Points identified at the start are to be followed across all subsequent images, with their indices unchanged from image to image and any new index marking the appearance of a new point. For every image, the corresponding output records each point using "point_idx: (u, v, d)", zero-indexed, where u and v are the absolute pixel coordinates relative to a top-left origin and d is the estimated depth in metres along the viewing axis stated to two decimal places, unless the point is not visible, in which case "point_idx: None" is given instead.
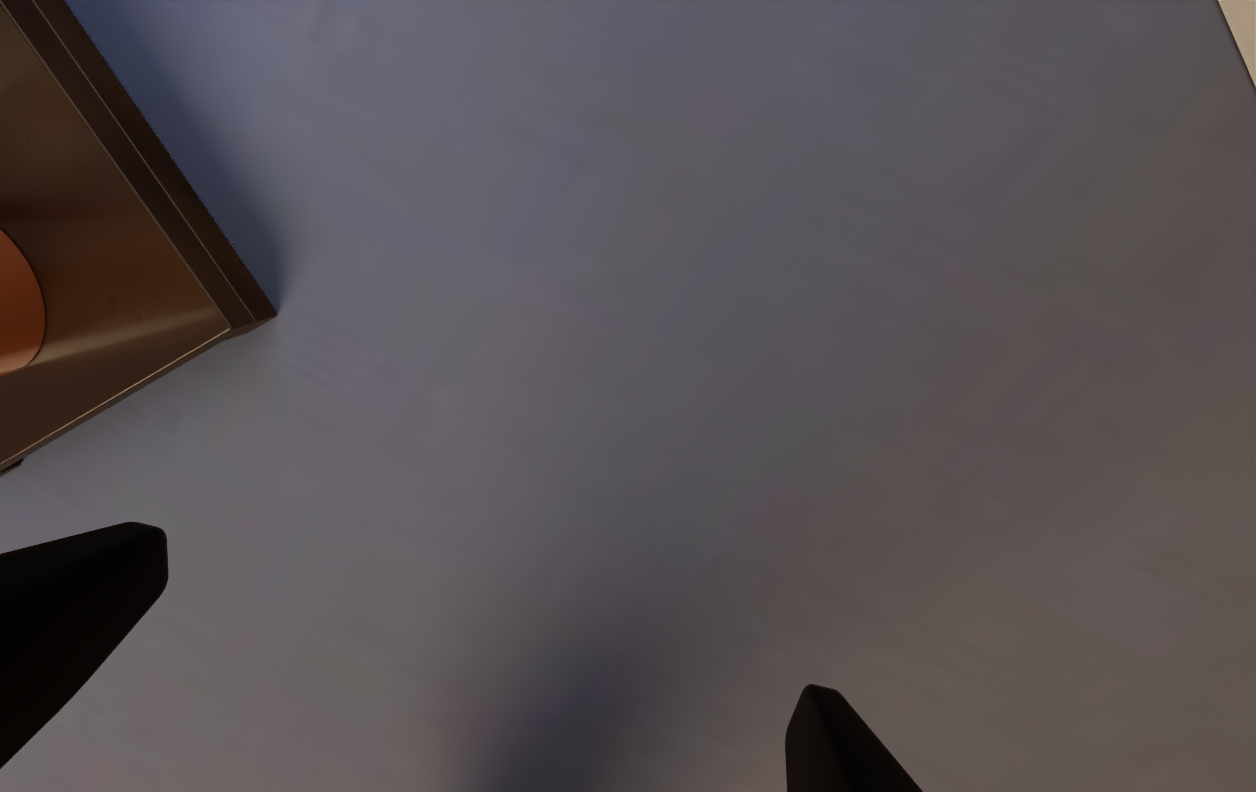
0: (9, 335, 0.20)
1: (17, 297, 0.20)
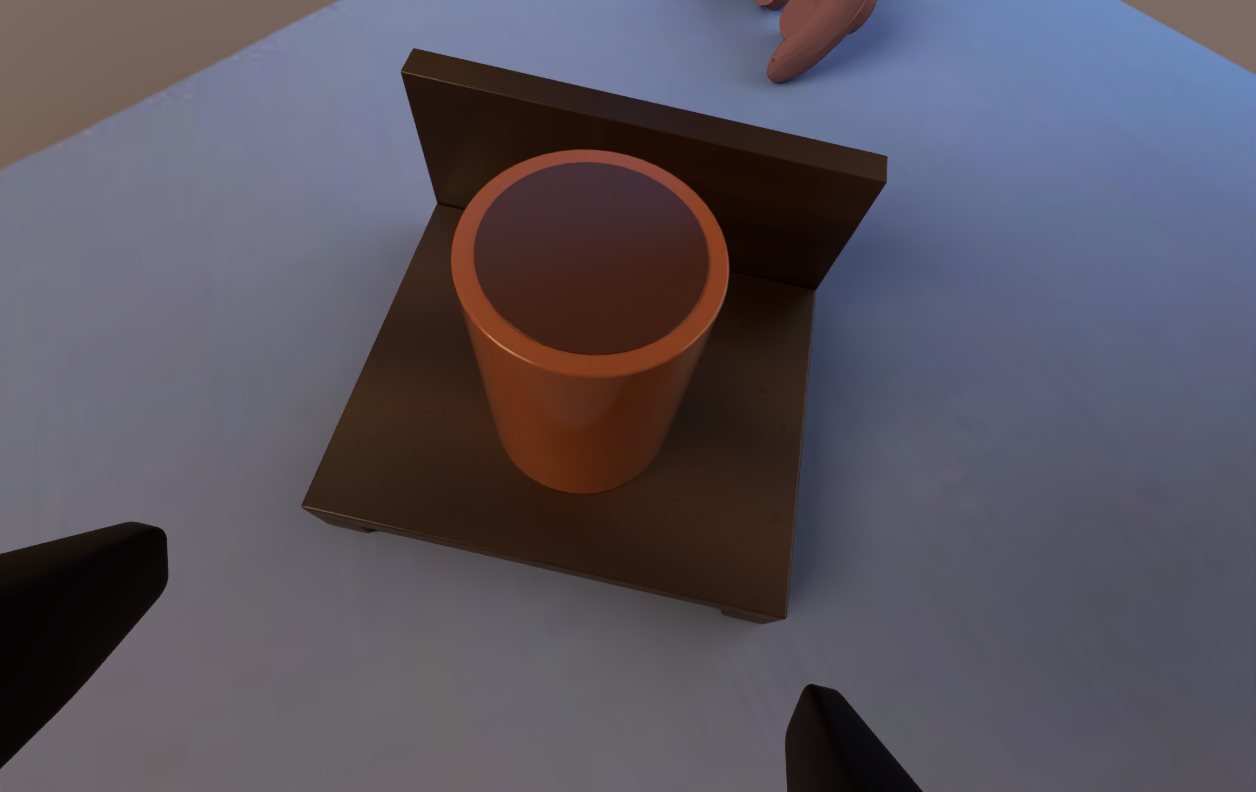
0: (625, 475, 0.19)
1: (652, 458, 0.20)
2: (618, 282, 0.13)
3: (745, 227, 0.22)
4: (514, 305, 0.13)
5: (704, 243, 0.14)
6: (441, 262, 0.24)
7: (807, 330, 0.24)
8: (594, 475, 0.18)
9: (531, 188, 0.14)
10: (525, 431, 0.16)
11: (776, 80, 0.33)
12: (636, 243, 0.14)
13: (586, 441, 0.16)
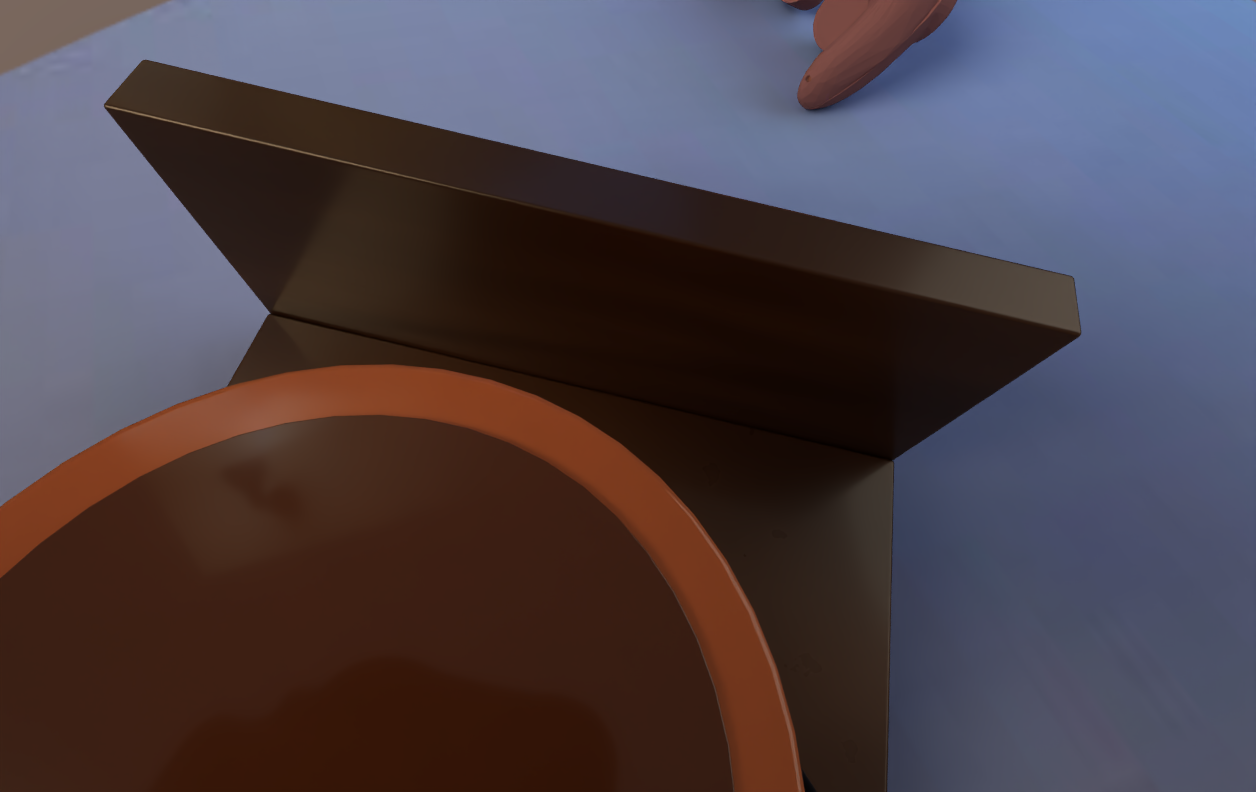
0: None
1: None
2: None
3: (783, 378, 0.13)
4: None
5: (721, 741, 0.04)
6: None
7: (884, 540, 0.14)
8: None
9: (140, 531, 0.04)
10: None
11: (811, 106, 0.23)
12: (475, 769, 0.04)
13: None
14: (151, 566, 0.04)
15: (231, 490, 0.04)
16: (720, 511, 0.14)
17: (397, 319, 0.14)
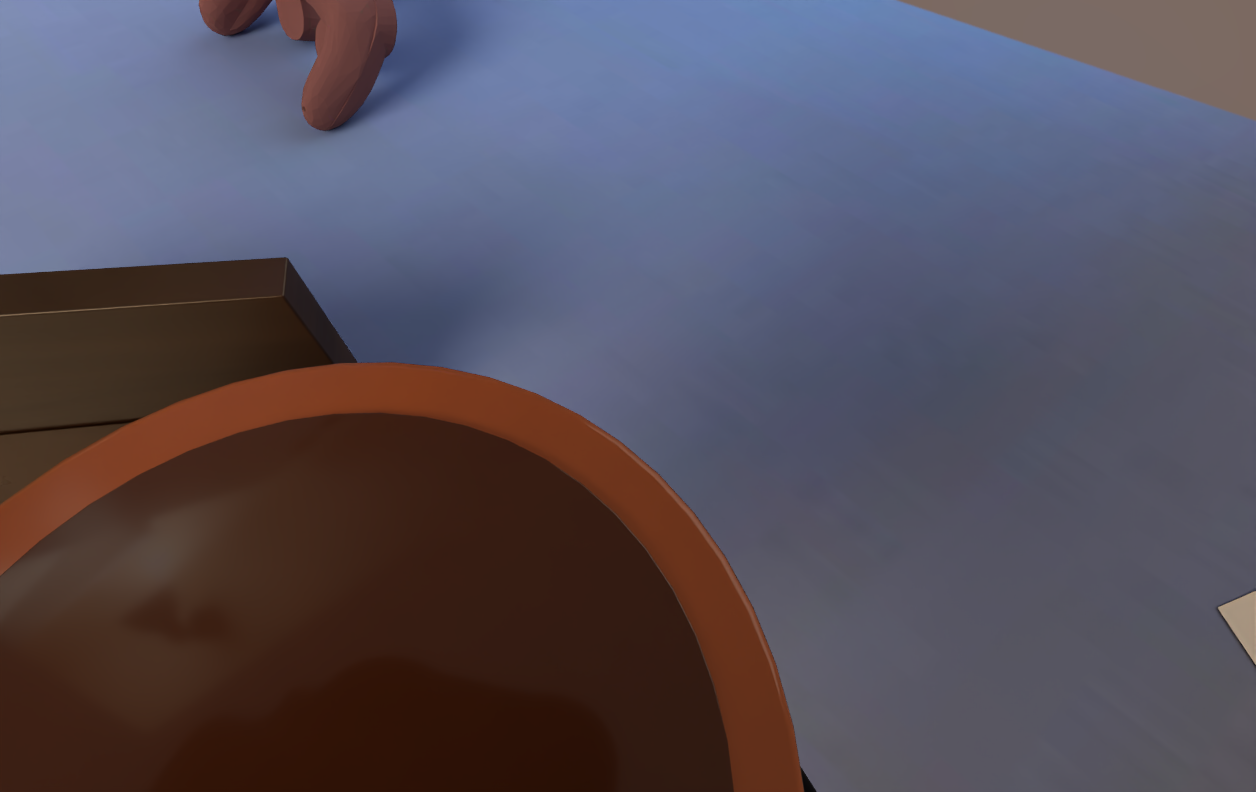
0: None
1: None
2: None
3: (194, 374, 0.17)
4: None
5: (719, 738, 0.04)
6: None
7: None
8: None
9: (140, 528, 0.04)
10: None
11: (324, 128, 0.27)
12: (475, 765, 0.04)
13: None
14: (151, 563, 0.04)
15: (231, 488, 0.04)
16: None
17: None
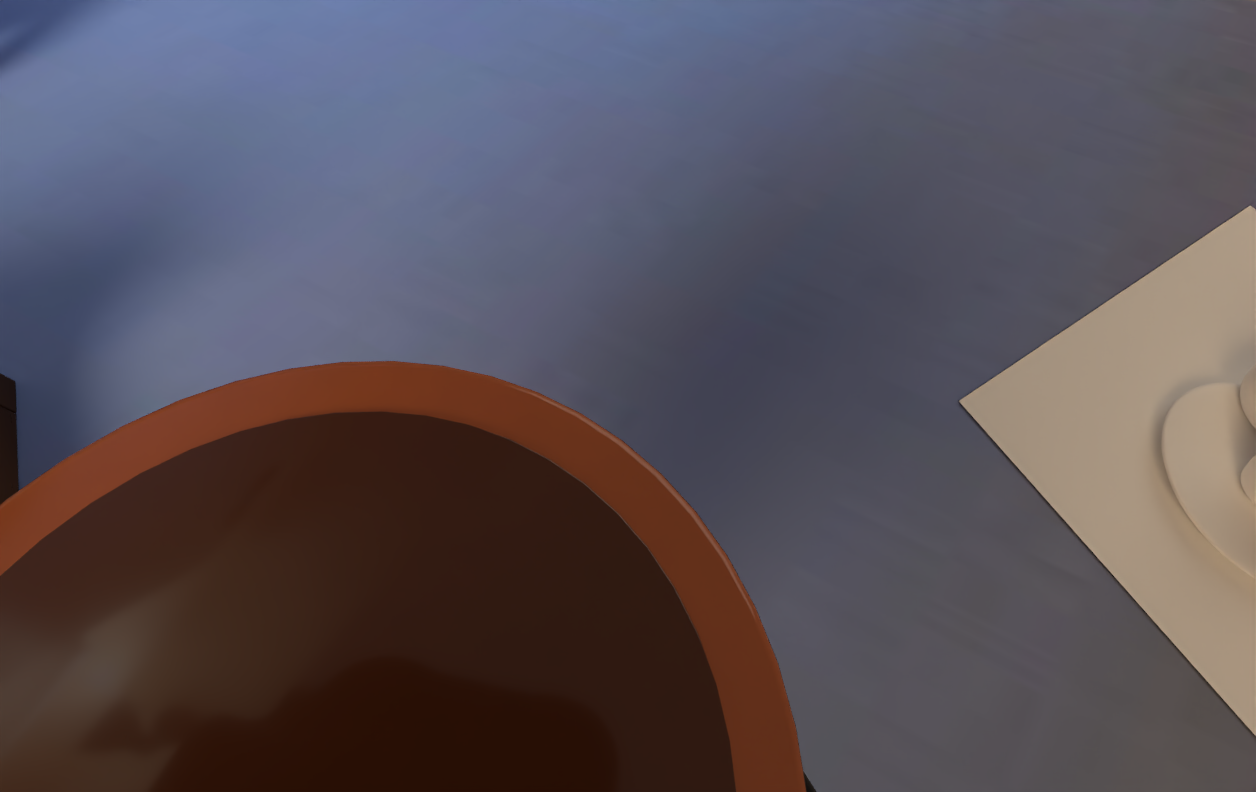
0: None
1: None
2: None
3: None
4: None
5: (721, 736, 0.04)
6: None
7: None
8: None
9: (142, 526, 0.04)
10: None
11: None
12: (477, 763, 0.04)
13: None
14: (153, 562, 0.04)
15: (233, 486, 0.04)
16: None
17: None
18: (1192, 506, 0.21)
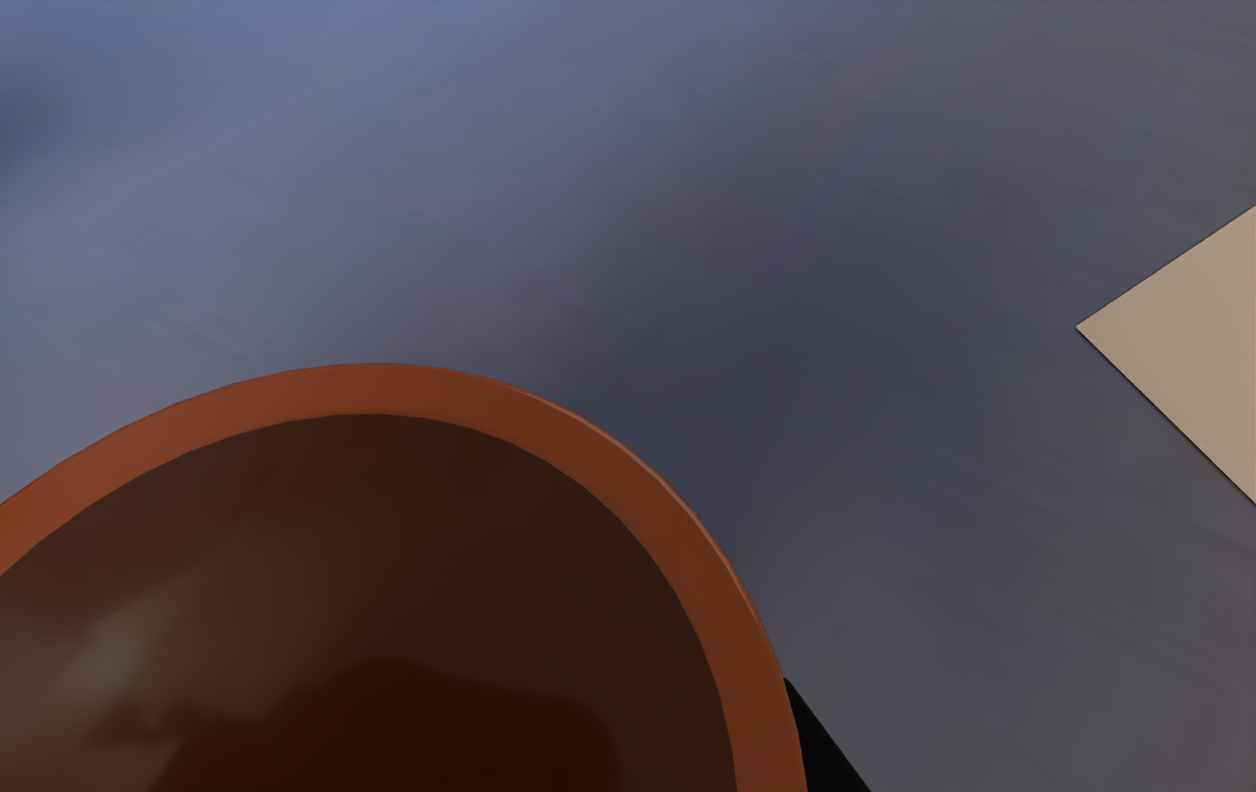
0: None
1: None
2: None
3: None
4: None
5: (723, 743, 0.04)
6: None
7: None
8: None
9: (139, 530, 0.04)
10: None
11: None
12: (475, 770, 0.04)
13: None
14: (150, 565, 0.04)
15: (231, 489, 0.04)
16: None
17: None
18: None
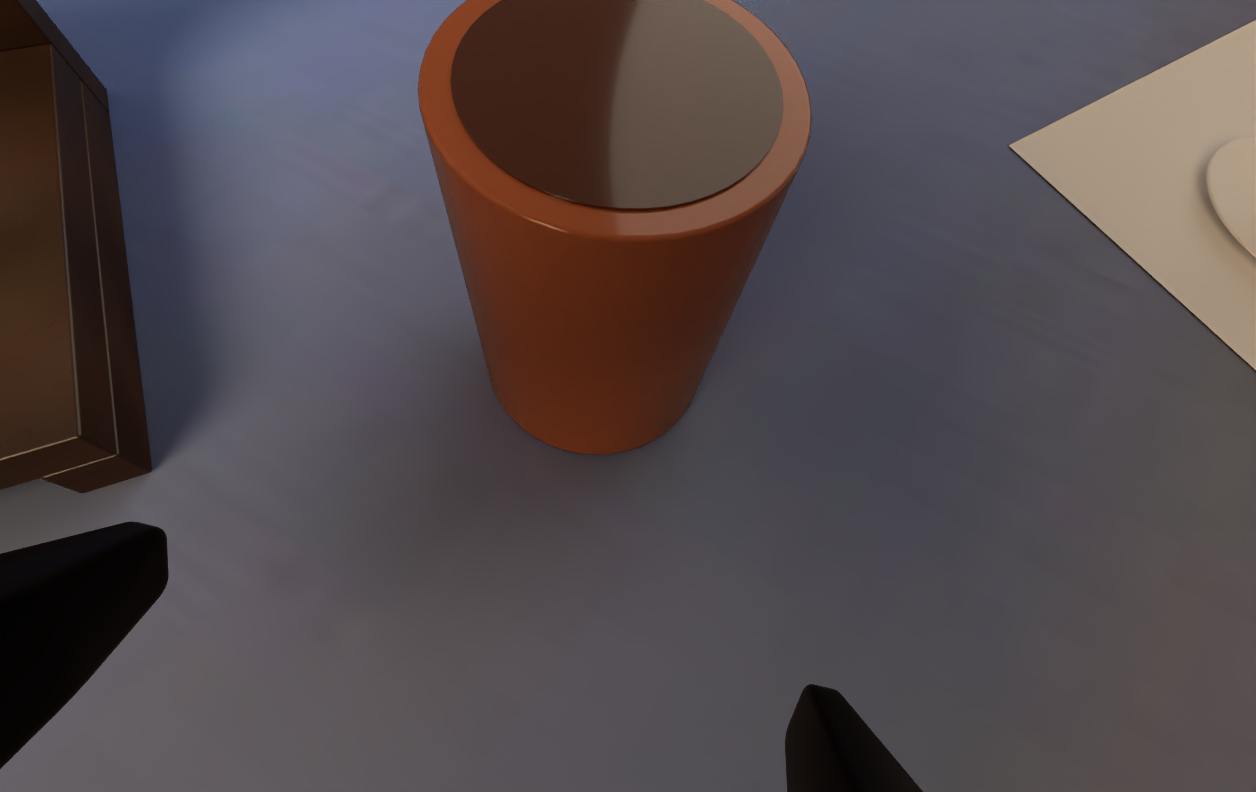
0: (648, 429, 0.15)
1: (681, 410, 0.16)
2: (657, 120, 0.09)
3: None
4: (507, 144, 0.09)
5: (775, 77, 0.10)
6: None
7: (45, 92, 0.17)
8: (611, 425, 0.14)
9: (534, 2, 0.10)
10: (523, 357, 0.12)
11: None
12: (680, 74, 0.10)
13: (605, 366, 0.12)
14: (542, 12, 0.10)
15: None
16: None
17: None
18: (1238, 228, 0.21)
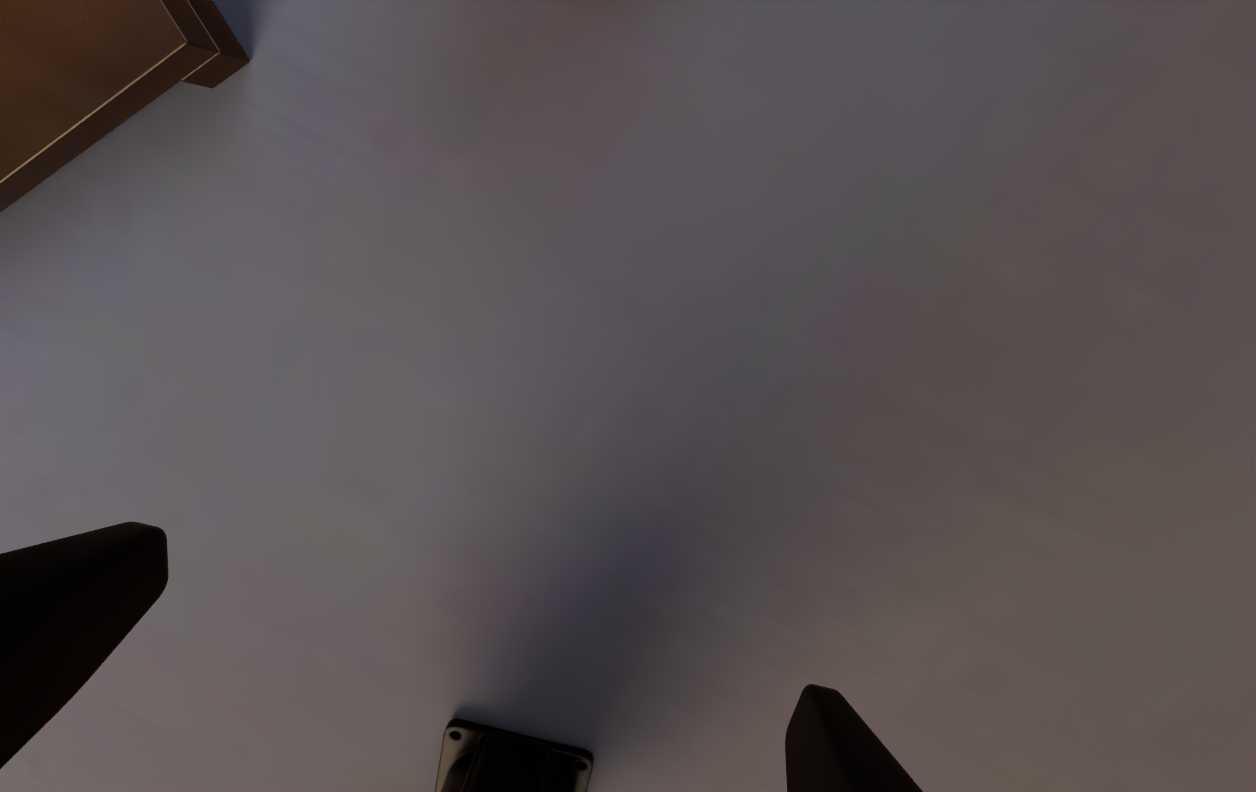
0: None
1: None
2: None
3: None
4: None
5: None
6: None
7: None
8: None
9: None
10: None
11: None
12: None
13: None
14: None
15: None
16: None
17: None
18: None
